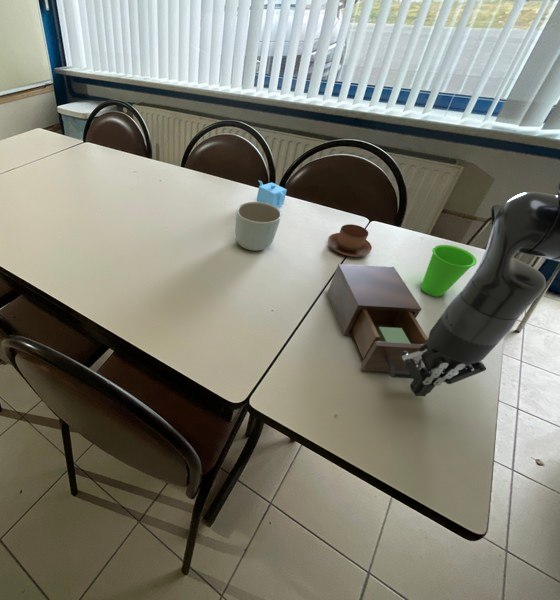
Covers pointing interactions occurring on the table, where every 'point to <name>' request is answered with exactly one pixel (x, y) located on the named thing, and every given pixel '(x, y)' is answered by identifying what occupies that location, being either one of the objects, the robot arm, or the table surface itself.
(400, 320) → the drawer
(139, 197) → the table surface
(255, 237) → the planter
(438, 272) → the cup
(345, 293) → the cabinet
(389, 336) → the block
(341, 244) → the cup and saucer
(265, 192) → the teapot
